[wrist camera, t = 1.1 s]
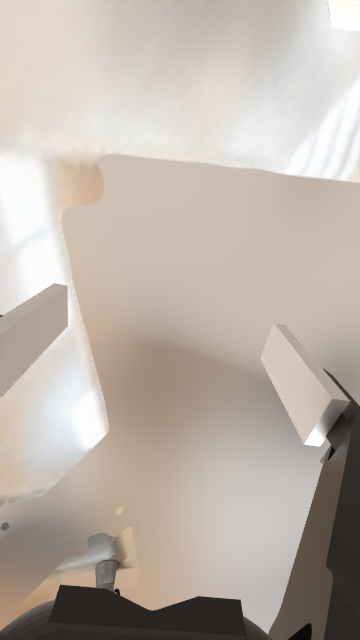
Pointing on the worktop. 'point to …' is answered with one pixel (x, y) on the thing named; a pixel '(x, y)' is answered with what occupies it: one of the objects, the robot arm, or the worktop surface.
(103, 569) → the coffeepot
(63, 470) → the worktop surface
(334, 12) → the jar
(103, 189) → the worktop surface
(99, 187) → the worktop surface
